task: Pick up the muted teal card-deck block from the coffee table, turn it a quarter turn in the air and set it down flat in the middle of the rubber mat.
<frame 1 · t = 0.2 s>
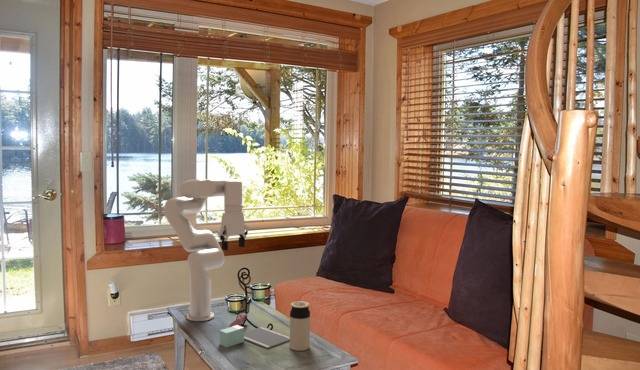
hand: (233, 248, 239), 36 cm above the table, tool pointing down, fingers open, 9 cm apart
mat: (264, 338, 234), on the table
card deck block: (232, 343, 227), on the table
travel mug: (299, 348, 224), on the table
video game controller: (238, 326, 248), on the table
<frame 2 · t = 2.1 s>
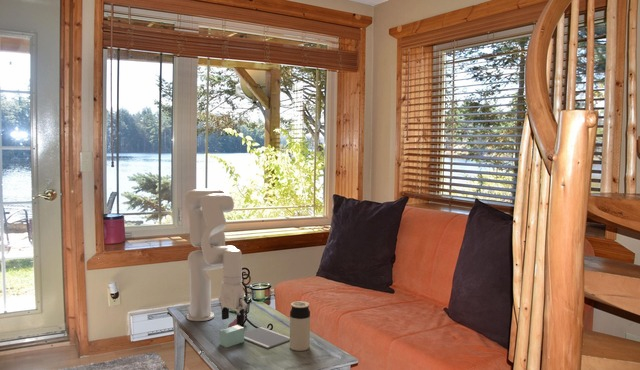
hand: (232, 321, 226), 9 cm above the table, tool pointing down, fingers open, 9 cm apart
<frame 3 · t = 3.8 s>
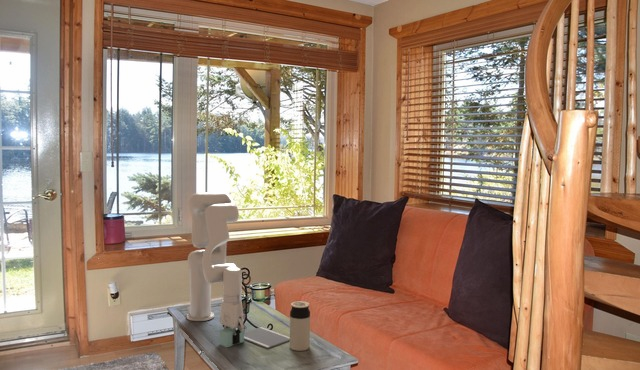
hand: (232, 341, 227), 1 cm above the table, tool pointing down, fingers closed on card deck block, 4 cm apart
card deck block: (232, 343, 227), on the table, touching gripper
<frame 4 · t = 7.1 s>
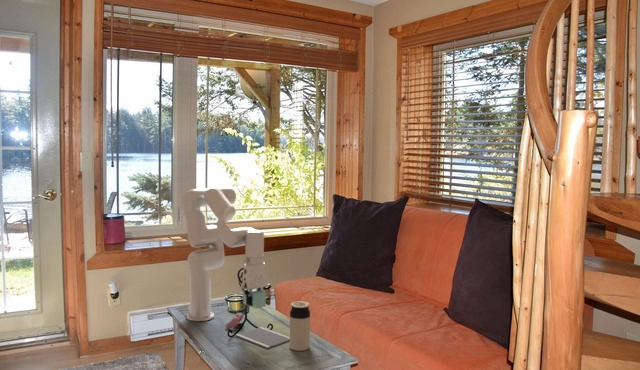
hand: (254, 303, 230), 15 cm above the table, tool pointing down, fingers closed on card deck block, 4 cm apart
card deck block: (254, 305, 230), point 15 cm above the table, touching gripper
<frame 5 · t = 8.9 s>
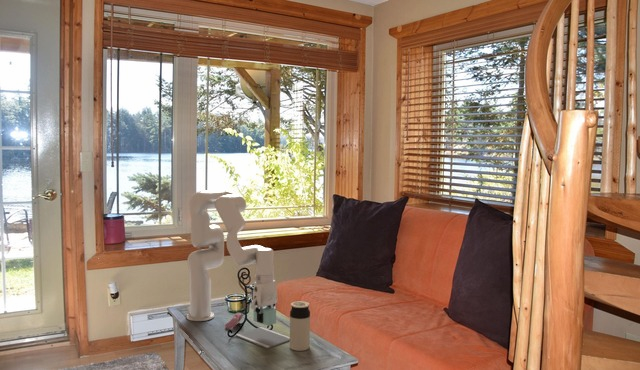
hand: (264, 320, 233), 8 cm above the table, tool pointing down, fingers closed on card deck block, 4 cm apart
card deck block: (264, 322, 233), point 7 cm above the table, touching gripper
when the fingers open (3 cm above the table, at t = 10.6 s): card deck block drops 1 cm, resting on mat.
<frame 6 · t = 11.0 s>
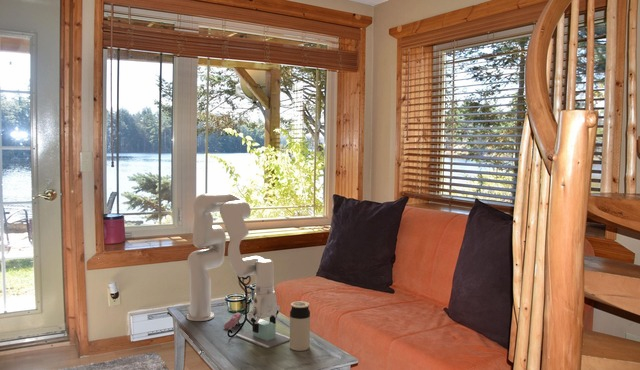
hand: (264, 329, 233), 4 cm above the table, tool pointing down, fingers open, 9 cm apart
card deck block: (264, 336, 234), point 1 cm above the table, touching mat
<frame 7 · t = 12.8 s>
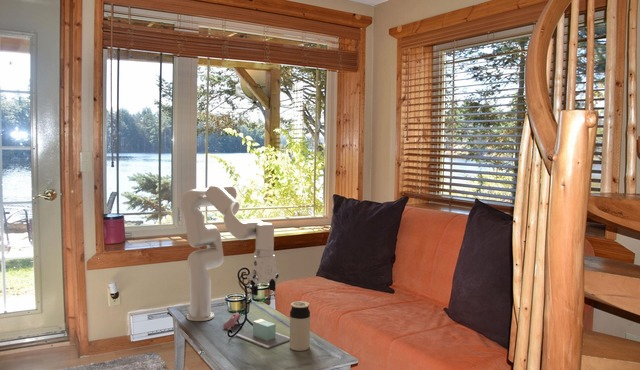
hand: (263, 292, 234), 19 cm above the table, tool pointing down, fingers open, 9 cm apart
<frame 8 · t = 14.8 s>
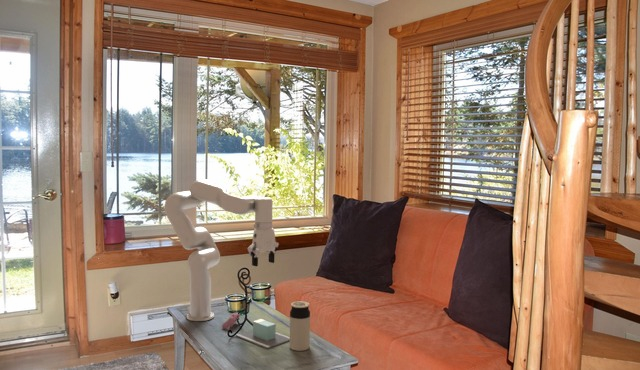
hand: (263, 264, 245), 28 cm above the table, tool pointing down, fingers open, 9 cm apart
at the end: card deck block inside the target area on the mat (0.0 cm from its centre), point 0.6 cm above the mat's base; card deck block tilted 0°; the gripper is holding nothing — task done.
